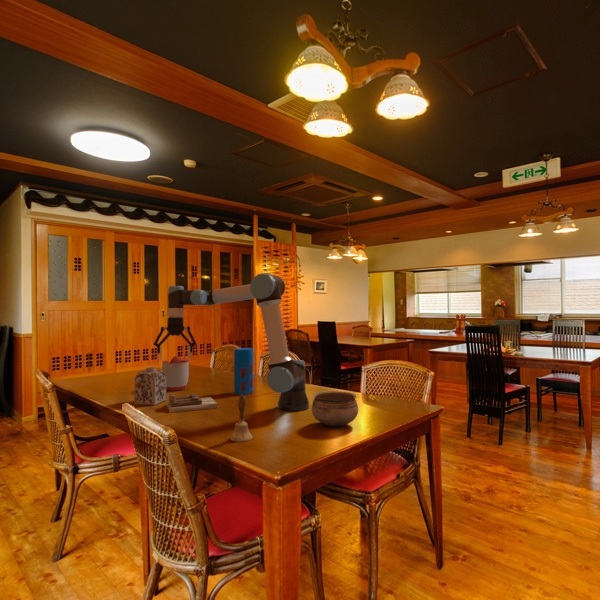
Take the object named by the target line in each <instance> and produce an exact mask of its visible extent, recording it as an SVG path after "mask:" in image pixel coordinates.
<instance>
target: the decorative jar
mask: <svg viewBox="0 0 600 600" xmlns="http://www.w3.org/2000/svg"><path fill="white" fill-rule="evenodd" d="M133 384H134V387H133V390H134V391H133V400H134V401H133V404H134V405H142V406H156V405H158V404H161V403H163V402H167V390H166V374H165V373H164V372H162V369H157V368H156V367H155V366H148V367H145V370H142V371H139V372H138V373H137V374H136V376H134V383H133Z"/></svg>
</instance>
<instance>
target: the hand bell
mask: <svg viewBox="0 0 600 600" xmlns="http://www.w3.org/2000/svg"><path fill="white" fill-rule="evenodd" d="M237 402H238V405H237V406H238V411H239V417H238V418H239V419H238V422H236V423H235V424H234V431H233V433H232V434H231V436H230V437H229V440H230V441H232V442H237V443H239V442H240V443H241V442H248V441H251V440H252V439H253V438H254V437H253V435H252V434H251V433H250V431H249V426H248V422H246V421H245V409H246V399H245V395H239V399H238V401H237Z"/></svg>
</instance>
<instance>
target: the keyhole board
mask: <svg viewBox="0 0 600 600" xmlns="http://www.w3.org/2000/svg"><path fill="white" fill-rule="evenodd" d="M189 396H190V397H191V399H193V401H196V399H198V397H196V396H197V394H195V393H194V394H193V393H192V394H189ZM199 398H200V399H201V400H202V404H194V405H183V406H173V407H171V405H170V402H169V400H166V407H167V410H168V412H169V414H171V413H181V412H192V411H200V410H211V409H218V403H217V402H216V400H215V399H213V398H212V397H210V396H209V397H199Z"/></svg>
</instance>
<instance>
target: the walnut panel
mask: <svg viewBox="0 0 600 600" xmlns="http://www.w3.org/2000/svg"><path fill="white" fill-rule="evenodd" d="M196 397H198V399H196V401H193V399H191V397H190V395H188V396H179V397H175V394H174V392H169V398H168V401H169V402H170V405H171V407H173V406H183V405H194V404H202V400H201V399H200V398H201V397H199V395H196Z"/></svg>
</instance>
